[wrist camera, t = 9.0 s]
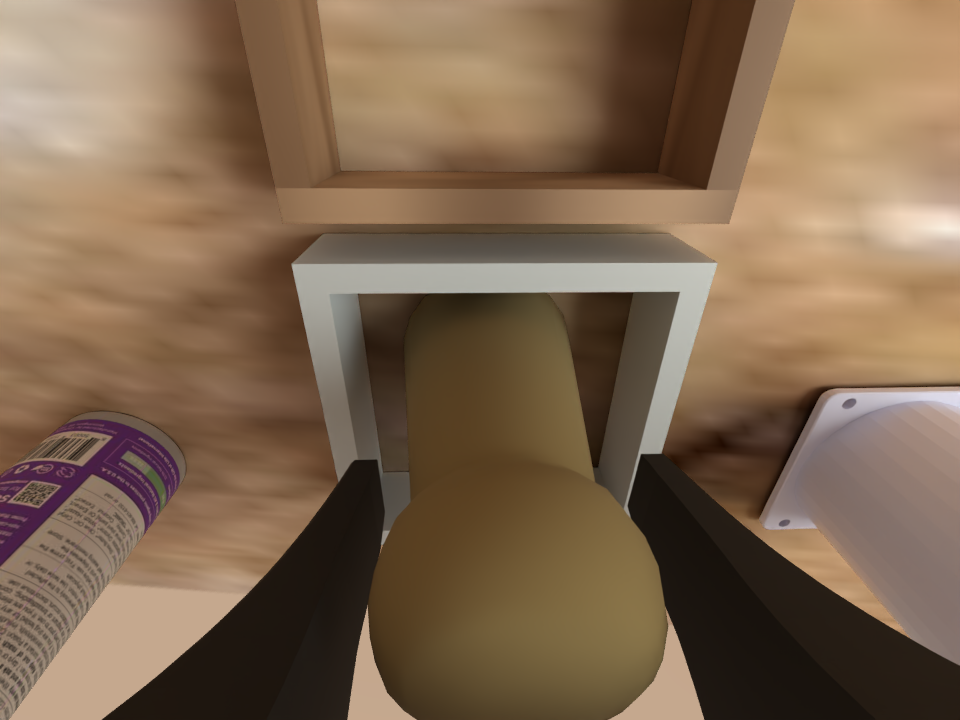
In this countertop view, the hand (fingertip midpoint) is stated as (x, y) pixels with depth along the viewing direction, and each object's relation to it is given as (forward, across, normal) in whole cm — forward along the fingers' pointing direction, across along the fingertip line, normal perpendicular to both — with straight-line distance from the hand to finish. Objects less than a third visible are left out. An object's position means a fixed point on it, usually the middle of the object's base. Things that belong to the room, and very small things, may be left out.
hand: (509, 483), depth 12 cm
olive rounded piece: (+6, 0, -1) cm, 6 cm away
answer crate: (+5, 0, 0) cm, 5 cm away
